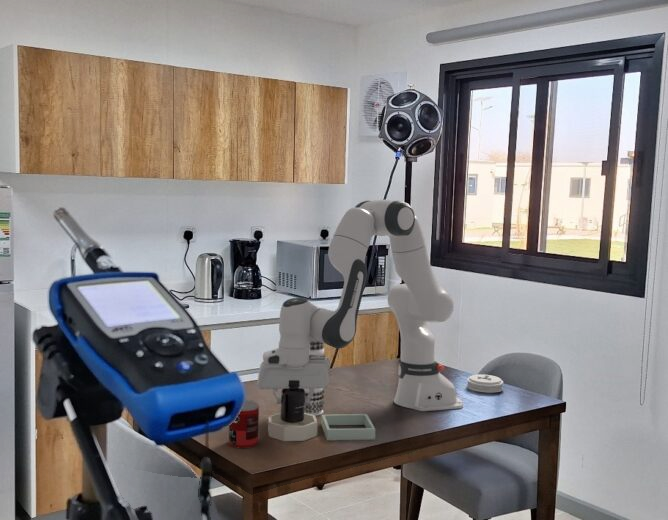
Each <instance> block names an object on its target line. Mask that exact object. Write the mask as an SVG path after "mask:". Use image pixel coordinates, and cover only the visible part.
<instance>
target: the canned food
mask: <svg viewBox="0 0 668 520" xmlns="http://www.w3.org/2000/svg"><path fill="white" fill-rule="evenodd" d="M259 406H260V405H259V403H258V402H256V401H252V400H246V401H245V404H244V406H243V408H242V410H241V412H240V414H239V415H238V417H237V418H236V420H235V421H234V422H233V423H232V424H231V425H229V424H228V443H229V445H230V446H231V447H233V446H234V448H237V447H239V448H238V449H249V447H250V448H253V447H255V446H257V444H258V443H259V421H260V420H259V418H260V416H259V414H260V410H259V409H260V407H259Z"/></svg>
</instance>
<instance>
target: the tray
mask: <svg viewBox="0 0 668 520" xmlns="http://www.w3.org/2000/svg"><path fill="white" fill-rule="evenodd" d="M320 423H321V427H322V429H323V433H324V436H325V438H326V441H357V440H358V441H359V440H360V441H361V440H362V441H363V440H376V428H375V426H374V424H373V422H372V421H371V419H370V417H369V415H368V414H367V413H350V414H349V413H345V414H344V413H343V414H341V413H339V414H338V413H335V414H332V413H331V414H321V422H320ZM354 425H356V426H361V425H364V427H362V428H361V427H359V428H356V427H355V428H354V427H353V428H330V426H354Z"/></svg>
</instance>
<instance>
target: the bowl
mask: <svg viewBox="0 0 668 520" xmlns="http://www.w3.org/2000/svg"><path fill="white" fill-rule="evenodd" d="M280 415H281V411H280V412H277V413H274V414H271V415H269V416H268V417H267V433H268V437H269V438H273V439H276V440H279V441H281V442H301V441H302V442H305V441H307V440H310V439H312V438H315V437H317V436H318V420H317V416H314V415H311V414H307V413H304V420H303V421H302V422H298V423H287V422H284V421H282V420H281V418H280Z"/></svg>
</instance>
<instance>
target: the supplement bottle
mask: <svg viewBox="0 0 668 520" xmlns="http://www.w3.org/2000/svg"><path fill="white" fill-rule="evenodd" d="M299 384H300V381H299V380H289V385H288V386H289V389H281V390H280V391H281V392H280V396H281V404H280V412H281V415H280V418H281V420H282V421H284V422H287V423H298V422H302V421H303V420H304V410H305V390H304V389H299V387H300V385H299Z"/></svg>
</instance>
